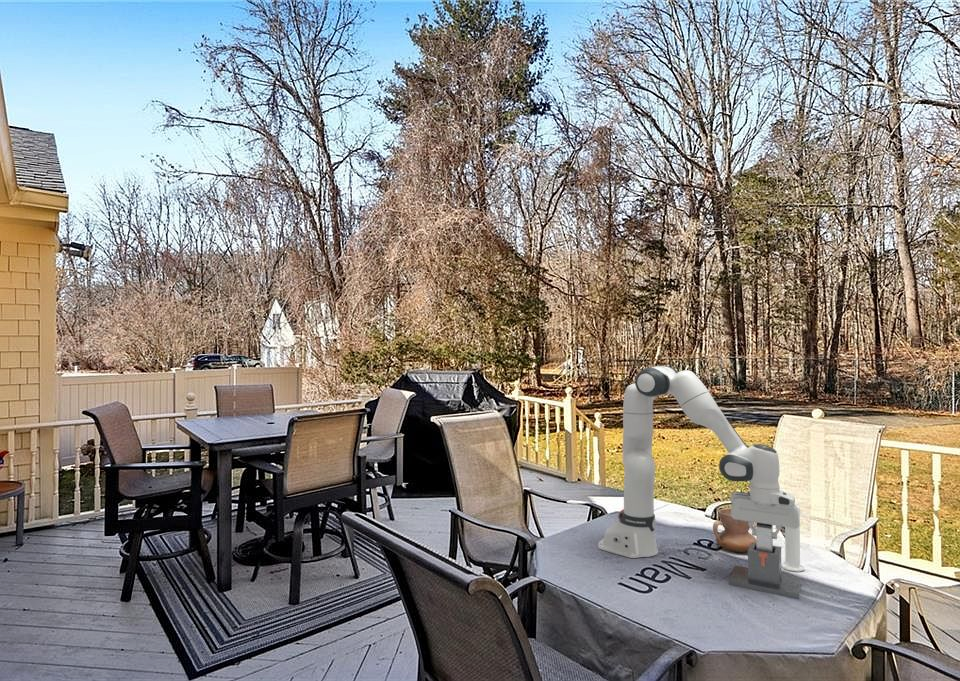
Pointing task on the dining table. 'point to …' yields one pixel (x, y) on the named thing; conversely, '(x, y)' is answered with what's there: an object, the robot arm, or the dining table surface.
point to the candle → (792, 549)
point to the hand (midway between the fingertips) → (764, 536)
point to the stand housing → (765, 574)
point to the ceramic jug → (733, 532)
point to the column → (764, 537)
